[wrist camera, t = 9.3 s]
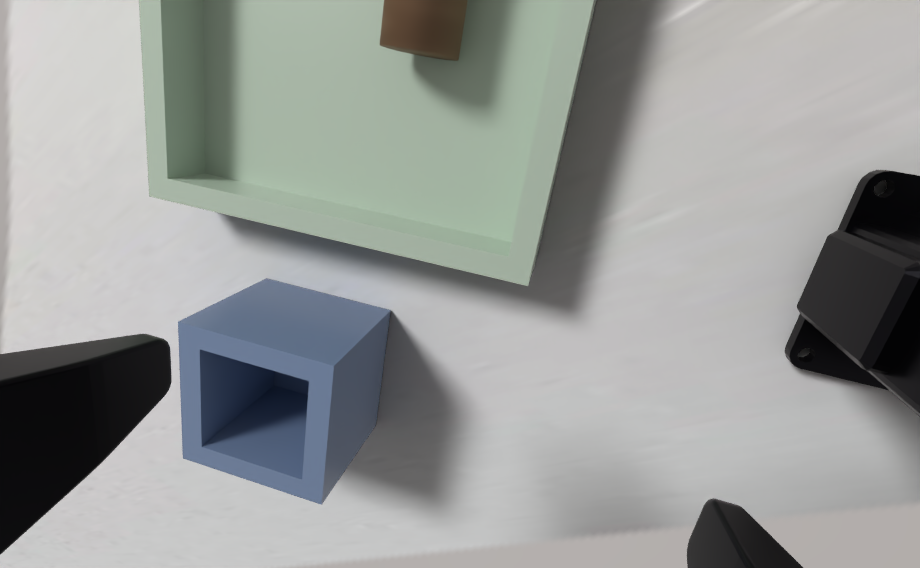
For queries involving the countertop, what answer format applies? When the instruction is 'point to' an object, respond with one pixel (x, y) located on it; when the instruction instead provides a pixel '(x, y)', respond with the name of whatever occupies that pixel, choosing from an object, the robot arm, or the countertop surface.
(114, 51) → the countertop surface
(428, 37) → the walnut dowel
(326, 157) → the sage tray
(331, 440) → the slate blue cup
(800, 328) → the robot arm
